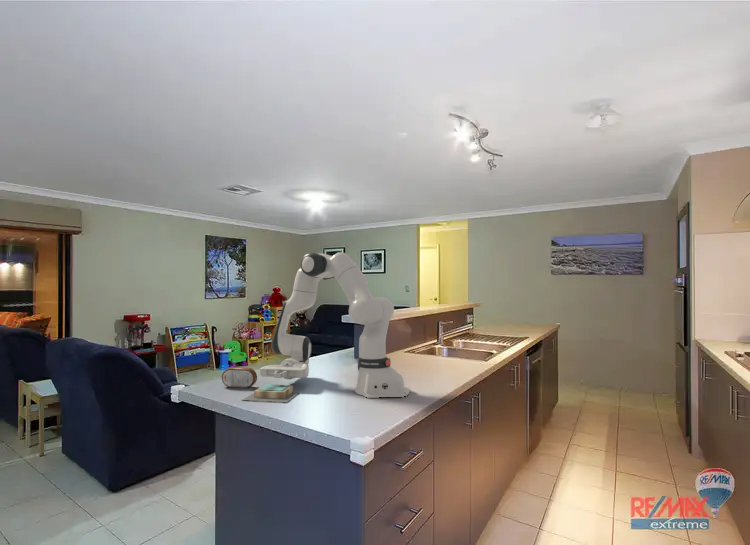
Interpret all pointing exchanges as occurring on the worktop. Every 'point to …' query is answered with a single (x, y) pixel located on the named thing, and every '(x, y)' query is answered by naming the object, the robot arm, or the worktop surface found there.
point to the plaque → (273, 391)
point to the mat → (286, 399)
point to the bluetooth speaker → (239, 377)
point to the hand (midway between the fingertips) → (277, 375)
